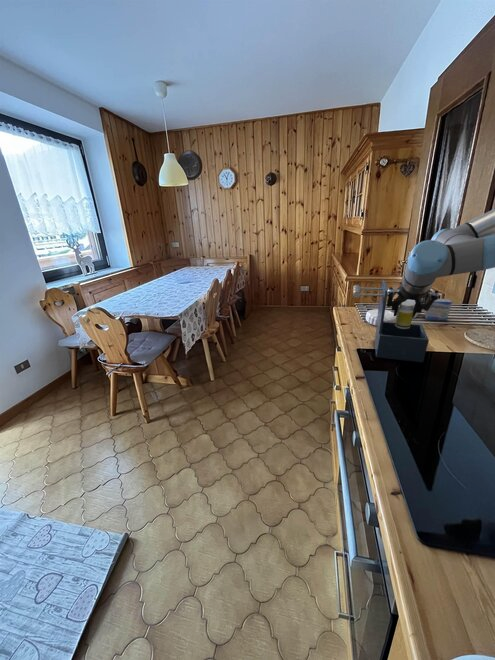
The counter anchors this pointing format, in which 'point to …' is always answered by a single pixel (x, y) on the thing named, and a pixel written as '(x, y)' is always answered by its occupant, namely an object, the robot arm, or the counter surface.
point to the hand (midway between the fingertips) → (403, 313)
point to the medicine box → (439, 310)
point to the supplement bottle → (404, 315)
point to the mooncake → (372, 316)
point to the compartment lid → (381, 303)
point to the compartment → (401, 342)
